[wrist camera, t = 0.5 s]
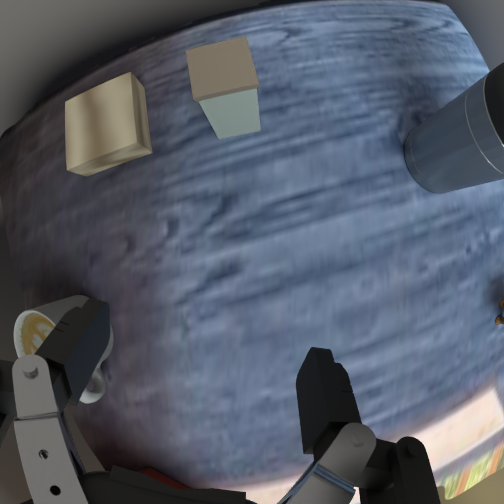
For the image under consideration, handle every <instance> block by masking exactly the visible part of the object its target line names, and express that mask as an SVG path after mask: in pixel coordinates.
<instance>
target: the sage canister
mask: <svg viewBox="0 0 504 504" xmlns="http://www.w3.org/2000/svg"><path fill="white" fill-rule="evenodd" d="M186 55H187V61H188V68H189V74H190V81H191V87H192V94H193V99H194V101H195V102H199V103H200V105H201V107H202V109H203V111H204V113H205V114H206V116H207V118H208V120H209V122H210V124H211V125H212V127H213V129H214V131H215V133H216V135H217V137H218V138H219V140H220V139H224V138H228V137H233V136H237V135H242V134H247V133H252V132H257V131H261V128H260V117H259V107H258V98H257V88H259V82H258V79H257V75H256V71H255V67H254V63H253V60H252V56H251V52H250V49H249V45H248V42H247V38H246V37H241V38H236V39H231V40H226V41H221V42H217V43H213V44H208V45H204V46H200V47H197V48H193V49H189V50H186Z"/></svg>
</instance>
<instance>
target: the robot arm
mask: <svg viewBox="0 0 504 504" xmlns="http://www.w3.org/2000/svg"><path fill="white" fill-rule="evenodd" d="M404 154H405V160H406V164H407V166H408V169H409V171H410V173H411V175H412V176H413V178H414V179H415V180H416V182H417V183H418V184H420V185H421V186H422V187H423V188H425V189H426V190H428V191H430V192H433V193H446V192H450V191H454V190H459V189H463V188H467V187H471V186H476V185H480V184H484V183H488V182H492V181H497V180H501V179H504V63H502V64H500V65H499V66H497V67H496V68H495V69H493V70H492V71H491V72H489V73H488V74H487V75H485V76H484V77H483V78H481V79H480V80H479V81H477V82H476V83H475V84H473V85H472V86H471V87H469V88H468V89H467V90H465V91H464V92H463V93H461V94H460V95H459V96H457V97H456V98H455V99H453V100H452V101H451V102H449V103H448V104H447V105H445V106H444V107H443V108H441V109H440V110H439V111H437V112H436V113H435V114H433V115H432V116H431V117H429V118H428V119H426V120H425V121H424V122H422V123H421V124H420V125H418V126H417V127H416V128H414V129H413V130H412V131H411V132H410V133H409V135H408V137H407V139H406V142H405V150H404ZM109 340H110V317H109V304H108V303H107V302H104V301H101V300H97V299H94V298H89V299H88V300H87V301H86V303H85V304H84V305H83V306H82V308H80V307H77V306H76V307H74V308H73V309H71V310H69V311H67V312H66V313H65V314H64V316H63V317H62V318H61V319H60V321H59V322H58V323H57V324H56V326H55V327H54V329H53V330H52V331H51V332H50V334H49V335H48V336H47V338H46V339H45V340H44V342H43V343H42V344H41V346H40V347H39V348H38V350H37V351H36V352H35V354H34V355H33V354H28V355H24V356H22V357H20V358H19V359H17V360H16V361H15V362H10V361H4V360H0V446H1V444H2V442H3V439H4V437H5V435H6V433H7V431H8V428H9V426H10V424H11V422H12V420H13V418H14V416H17V417H18V418H17V419H15V420H14V427H15V433H16V438H17V443H18V448H19V453H20V457H21V461H22V465H23V469H24V473H25V476H26V480H27V483H28V486H29V490H30V493H31V496H32V499H30V500H27V501H25V502H23V503H21V504H257V503H255V502H253V501H250V500H247V499H246V492H239V491H230V490H222V489H214V488H210V489H189V490H178V489H175V488H172V487H170V486H168V485H166V484H163V483H161V482H159V481H157V480H155V479H153V478H151V477H149V476H147V475H145V474H142V473H138V472H135V471H132V470H128V469H125V468H122V467H119V466H116V465H113V466H112V469H111V471H94V472H88V473H86V471H85V468H84V466H83V464H82V462H81V459H80V457H79V455H78V452H77V450H76V447H75V444H74V442H73V438H72V435H71V432H70V429H69V426H68V422H67V419H66V416H65V412H64V408H65V406H66V404H67V402H68V403H70V404H72V405H75V406H77V404H78V402H79V400H80V398H81V396H82V394H83V392H84V390H85V388H86V386H87V384H88V382H89V380H90V378H91V376H92V374H93V372H94V370H95V368H96V366H97V365H98V363H99V361H100V359H101V357H102V355H103V353H104V352H105V350H106V348H107V346H108V343H109ZM296 391H297V400H298V408H299V417H300V426H301V435H302V444H303V454H313V455H314V461H313V462H312V463H311V464H310V466H309V467H308V468H307V470H306V471H305V472H304V473H303V475H302V476H301V477H300V478H299V480H298V481H297V482H296V483H295V484H294V486H293V487H292V488H291V489H290V490H289V492H288V493H287V494H286V495H285V496H284V497H283V498H282V499H281V500H280V501H279V502H278V503H277V504H349V503H350V501H351V500H352V498H353V496H354V494H355V491H356V490H355V489H353V488H354V486H355V487H359V494H360V502H361V504H440V500H439V495H438V491H437V487H436V484H435V480H434V476H433V473H432V469H431V465H430V462H429V459H428V455H427V452H426V449H425V447H424V445H423V444H422V443H421V442H420V441H419V440H418V439H416V438H414V437H408V436H407V437H403V438H401V439H400V440H399V441H398V442H397V443H393V442H388V441H384V440H381V439H377V438H376V437H375V434H374V433H373V431H372V430H371V429H370V428H369V427H367V426H366V425H363V424H362V422H361V418H360V415H359V411H358V408H357V404H356V400H355V397H354V393H353V390H352V386H351V385H350V380H349V376H348V373H347V372H346V370H345V369H344V368H343V366H342V365H341V364H340V363H335V362H334V358H333V355H332V351H331V350H330V349H323V348H316V347H311V348H310V350H309V352H308V354H307V356H306V358H305V360H304V362H303V364H302V366H301V368H300V370H299V372H298V375H297V379H296Z"/></svg>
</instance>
